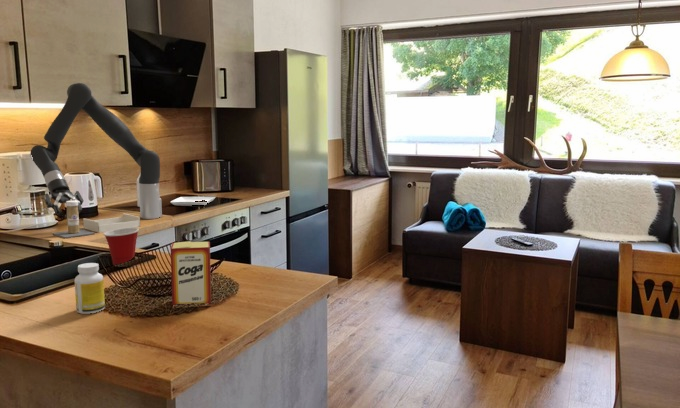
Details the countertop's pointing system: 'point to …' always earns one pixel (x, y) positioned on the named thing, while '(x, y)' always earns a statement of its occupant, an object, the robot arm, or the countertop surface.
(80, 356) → the countertop surface
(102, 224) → the white shallow box
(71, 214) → the sprinkles bottle
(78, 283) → the pill bottle
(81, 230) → the coaster
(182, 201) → the salad plate
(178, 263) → the baking soda box
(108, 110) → the robot arm
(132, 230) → the plastic cup
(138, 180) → the milk carton
